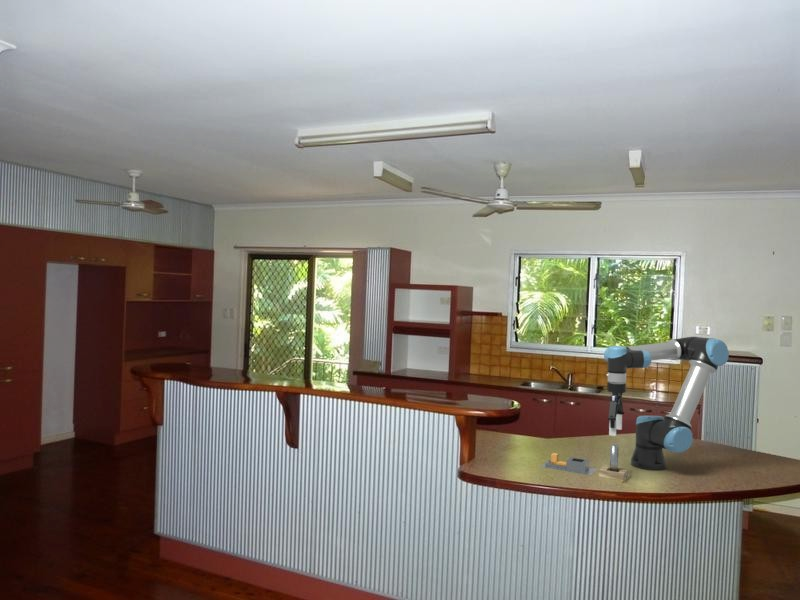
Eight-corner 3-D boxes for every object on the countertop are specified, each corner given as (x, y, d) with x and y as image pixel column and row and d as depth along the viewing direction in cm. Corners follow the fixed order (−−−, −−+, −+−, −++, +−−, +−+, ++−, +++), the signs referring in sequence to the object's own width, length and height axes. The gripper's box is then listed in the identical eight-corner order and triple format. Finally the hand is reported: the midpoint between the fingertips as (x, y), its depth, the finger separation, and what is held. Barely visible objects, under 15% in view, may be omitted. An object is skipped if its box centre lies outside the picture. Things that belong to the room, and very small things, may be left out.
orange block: (552, 464, 276) (553, 453, 276) (571, 467, 272) (571, 455, 272) (550, 465, 274) (551, 454, 274) (569, 468, 270) (569, 457, 270)
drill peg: (610, 476, 264) (611, 444, 264) (617, 477, 263) (619, 445, 263) (608, 478, 261) (609, 445, 261) (616, 479, 260) (617, 446, 260)
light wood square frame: (603, 473, 269) (603, 465, 269) (627, 477, 264) (627, 469, 264) (598, 478, 260) (598, 470, 260) (623, 483, 255) (623, 474, 255)
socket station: (547, 463, 282) (547, 452, 282) (596, 471, 271) (597, 459, 271) (539, 469, 271) (540, 457, 271) (590, 478, 261) (591, 466, 261)
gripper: (612, 378, 274) (611, 425, 275) (601, 385, 253) (600, 437, 253) (630, 379, 271) (629, 427, 271) (620, 387, 249) (619, 439, 249)
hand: (615, 432), depth 262 cm, fingers open, 13 cm apart
